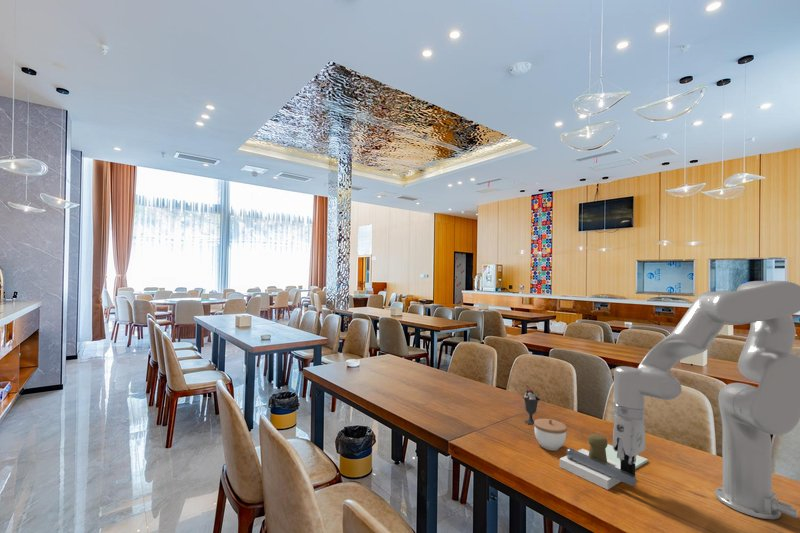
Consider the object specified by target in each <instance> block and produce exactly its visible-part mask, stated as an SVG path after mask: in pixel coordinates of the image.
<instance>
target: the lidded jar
mask: <svg viewBox="0 0 800 533" xmlns="http://www.w3.org/2000/svg"><path fill="white" fill-rule="evenodd" d="M533 421H534V425H533V426H534V430H533V431H534V436H535V438H536V440H537V442H538V443H539V445H540V447H542V448H543V449H545V450H548V451H559V450H560V448H562V447H563V445H565V443H566V439H567V430H568V427H567V425H566V424H565V423H563V422H561V421H558V420H555V419H552V418H537V419H535V420H533Z"/></svg>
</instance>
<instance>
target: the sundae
mask: <svg viewBox="0 0 800 533" xmlns="http://www.w3.org/2000/svg"><path fill="white" fill-rule="evenodd" d="M525 387H526V391H525V392H526V393H524V395H523V396H522V398H523V400H524V405H525V406H524V407H525V411H526V413H528V416H529V417H528V419H526V420H524V421H525V422H526V423H525V422H524V423H525V424H527V423H528V424H527V425H530V424H534V421H535V420H534V419H533V415H534V414H535V413H536V412H537V409H538V403H539V401H541V399H540V397H539V395H540V394H539V393H538V395H537V393H535V391H533V390H531V389H530V387H529V386H528V385H525Z"/></svg>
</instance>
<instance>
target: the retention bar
mask: <svg viewBox="0 0 800 533" xmlns="http://www.w3.org/2000/svg"><path fill="white" fill-rule="evenodd" d="M566 456H567V458H569V459H572V460H575V461H577V462H579V463H581V464H584V465H586V466H588V467H590V468H593V469H595V470H597V471H599V472H602V473H604V474H606V475H608V476H611V477H613V478H615V479H617V480H620V481H621V482H622V483H624V484H626V485H629V486H631V487H634V486H636V485H637V484H636V483H637V481H636V480H637V478H636V477H637V476H636V474H635V475H633V474H630V473H628V472H626V471H623V470H621V469H618V468H616V467H614V466H611V465H609V464H606V463H604V462H602V461H599V460H597V459H595V458H592V457H590V456H587V455H585V454H583V453H580V452H578V450H576V449H574V448H573V447H567V448H566Z"/></svg>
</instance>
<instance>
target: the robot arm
mask: <svg viewBox="0 0 800 533" xmlns="http://www.w3.org/2000/svg"><path fill="white" fill-rule="evenodd" d="M799 312H800V285H799V284H797V283H795V282H792V281H787V280H753V281H746V282H744V283H742V284H740V285H739V286H737V289H736V290H734V291H716V290H715V291H706V292H702V293H701V294H699V295H698V296H697V297H696V298H695V299H694V301H693V302H692V304H691V305H690V306H689V307H688V310H687V311H686V312H685V314H683V316H682V318H681V319H680V321H679V322H678V324H677V325H676V326H675V327H674V329H673V330H672V332H671V333H670V334H668V335H667V336H666V337H664V338H663V339H661V340H660V341H659V342H658V343H657V344H655V345H654V346H653V347H652V348H651V349H650V350H649V351H648V352H647V353H646V354H645V356H644V357H643V359H642V360H641V362H640V363H639V365H638V366H637V368H636V367H631V366H625V365H624V366H616V367H615V368H614V369H613V398H612V399H613V401H612V402H613V405H612V406H613V408H612V409H613V412H612V414H613V415H614V420H613V421H614V422H613V430H612V446H613V449H614V450H615V451H617V458H619V459H620V461H621V470H623V471H626V472H628V473H630V474H633V475H635V476H636V469H635V462H636V455H639V454H641V453H642V452H644V451H645V450H646V428H645V427H646V426H645V397H650V398H654V399H658V400H663V401H671V400H675V399H677V398H678V397H679V396H680V395H681V393H682V384H681V382H680V381H679V379H678V378H677V377H676V376H674V375H673V374H671V373H669V372H670V371H671V370H672V369H673V367H674V366H675V365H676V364H677V363H679V362H680V361H681V360H683V359H686V358H688V357H692V356H696V355H699V354H702V353H704V352H706V351H707V350H708V348H709V347H710V345H711V344H712V343H713V342H714V341H715V338H716V337H717V336H718V334H719V333H720V332H721V330H722V329H723V328H724V326H725V325H729V326H738V325H746V324H750V326H749V327H750V328H749V332H748V335H747V338H746V340H745V343H744V345H743V348H742V350H741V352H740V356H739V357H738V360H737V361H738V362H737V368H738V372H739V373H740V374H741V375H742V376H744V377H745V378H747V379H748V380H751V381H753V382H755V383H758V386H757V387H756V386H753V385H750V384H748V383H742V382H731V383H728V384H726V385H724V386H723V387H722V388H721V389H720V391H719V393H718V397H717V399H718V408H719V413H720V417H721V428H722V430H721V432H722V439H721V440H722V444H721V445H722V451H721V452H722V454H721V455H722V486H719V487H717V488H715V490H714V493H715V497H716V498H717V499H718V500H719V501H720V502H721V503H722V504H724V505H726V506H727V507H728V508H731V509H733V510H735V511H737V512H739V513H742V514H745V515H748V516H751V517H753V518H759V519H763V520H777V519H780V518H781V516H782V514H784V515H787V516H788V517H790V518H794V519H797V518H798V510H797V509H794V508H793V505H792V504H789V503H786V502H783V501H780V500H779V499H777V496H776V495H777V494H776V493H775V492H773V471H772V468H773V467H772V465H773V464H772V463H773V462H772V460H773V458H772V457H773V455H772V453H773V450H772V449H773V445H772V444H773V443H772V437H771V435H773V436H781V435H782V436H783V435H786V434H788V433H790V432H791V431H793V430H794V429H795V428H796V426H798V423H799V422H800V356H797V355H795V354H792V353H791V352H792V349H793V345H794V342H795V340H796V336H797V335H796V334H797V333H796V332H797V331H796V325H795V323H794V320H793V318H792V315H794V314H797V313H799ZM633 462H634V463H633Z"/></svg>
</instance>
